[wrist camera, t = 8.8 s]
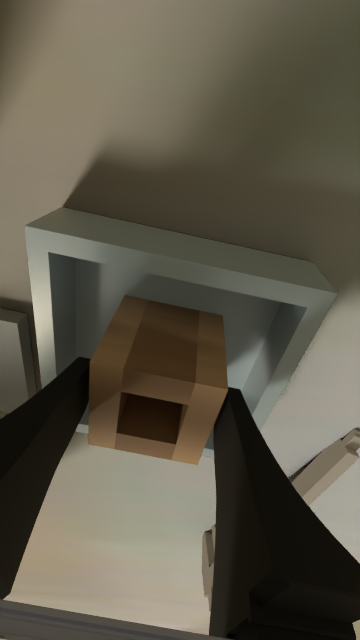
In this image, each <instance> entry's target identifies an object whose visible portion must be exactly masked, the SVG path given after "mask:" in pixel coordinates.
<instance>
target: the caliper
mask: <svg viewBox="0 0 360 640" xmlns="http://www.w3.org/2000/svg"><path fill="white" fill-rule="evenodd" d="M358 448H360V431H359V430H356V429H353V430H352V431H351V432H350V433H349V434H348V435H347V436H346V437H345V438H344V439H343V440H341V439H339V440H337V441H336V442H334V443H333V444H331V445H330V446H328V447H327V448H325V449H324V450H323V451H322V452H321V453H320V454H319V455H318V456H317V457H316V458H315V459H314V460H313V461H312V462H311V463H310V464H309V465H308V466H307V467H306V468H305V469H304V470H303V471H302V472H301V474H300V475H299V476H298V477H297V478H296V479H295V480H294V481H293V482H292V483H291V484H292V485H293V486H294V488H295V489H296V491H297V492H298V493H299V495H300V496H301V497H302V498H303V500H304V501H305V502H306V504H307V505H308V506H309V505H310V504H311V503H312V502H313V501H314V500H315V499H316V498H317V497H318V496H320V495H321V494H322V493H323V492H324V491H325V490H326V489H327V488H328V487H329V486H330V485H331V484H332V483H333V482H334V481H335V480H336V479H338V478H339V477H340V476H341V475H342V474H343V473H344V472H345V471H346V470H347V469H348V468H349V467H350V466H351V465H352V464H353V463H354V462H356V461H357V460H358V459H359V458H360V457H359V455H358V454H357V452H356V450H357V449H358ZM215 532H216V526H215V525H213V526H212V534H211V533H208V532H204V534H203V543H202V575H203V585H204V595H205V597H207V598H208V600H209V610H210V611H211V601H212V588H213V572H214V555H215Z"/></svg>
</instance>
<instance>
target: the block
mask: <svg viewBox="0 0 360 640" xmlns="http://www.w3.org/2000/svg"><path fill="white" fill-rule="evenodd" d="M227 392H228V379H227V365H226V352H225V338H224V324H223V315H218V314H214V313H209V312H204V311H199V310H195V309H190V308H185V307H180V306H176V305H171V304H166V303H161V302H157V301H152V300H147V299H142V298H138V297H133V296H128V295H124V297H123V299H122V301H121V303H120V305H119V307H118V309H117V311H116V313H115V314H114V316H113V318H112V320H111V322H110V324H109V326H108V328H107V330H106V332H105V334H104V336H103V337H102V339H101V341H100V343H99V345H98V347H97V349H96V351H95V353H94V355H93V357H92V358H91V360H90V374H89V420H88V444H91V445H96V446H101V447H106V448H112V449H117V450H122V451H127V452H132V453H138V454H143V455H148V456H153V457H158V458H164V459H169V460H174V461H179V462H184V463H190V464H195V465H197V464H198V462H199V460H200V457H201V455H202V452H203V450H204V447H205V445H206V443H207V440H208V438H209V435H210V433H211V430H212V428H213V426H214V423H215V421H216V418H217V416H218V413H219V411H220V409H221V406H222V404H223V401H224V399H225V397H226V394H227Z"/></svg>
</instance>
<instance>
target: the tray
mask: <svg viewBox="0 0 360 640" xmlns="http://www.w3.org/2000/svg"><path fill="white" fill-rule="evenodd" d="M24 228H25V237H26V246H27V255H28V264H29V274H30V283H31V292H32V301H33V310H34V320H35V329H36V338H37V347H38V356H39V366H40V375H41V384H42V389H43V388H44V387H45V386H46V385H47V384H49V383H50V382H51V381H52V380H53V379H55V378H56V377H57V376H58V375H59V374H60V373H61V372H62V371H64V370H65V369H66V368H67V367H68V366H69V365H70V364H71V363H72V362H73V361H74V360H75V359H76V358H78V357H84V358H89V359H91V358H92V357H93V355H94V353H95V351H96V349H97V347H98V345H99V343H100V341H101V339H102V337H103V336H104V334H105V332H106V330H107V328H108V326H109V324H110V322H111V320H112V318H113V316H114V314H115V313H116V311H117V309H118V307H119V305H120V303H121V301H122V299H123V297H124V295H128V296H133V297H138V298H142V299H147V300H152V301H157V302H161V303H166V304H171V305H176V306H180V307H185V308H190V309H195V310H199V311H204V312H209V313H214V314H218V315H223V324H224V338H225V352H226V365H227V379H228V387H232V388H237V389H240V390H241V392H242V394H243V397H244V399H245V401H246V404H247V406H248V408H249V410H250V412H251V415H252V417H253V419H254V421H255V423H256V425H257V427H258V429H259V431H260V430H261V428H262V427H263V425H264V423H265V421H266V420H267V418H268V416H269V414H270V413H271V411H272V409H273V407H274V406H275V404H276V402H277V400H278V399H279V397H280V395H281V393H282V392H283V390H284V388H285V386H286V385H287V383H288V381H289V379H290V378H291V376H292V374H293V372H294V370H295V369H296V367H297V365H298V363H299V362H300V360H301V358H302V356H303V355H304V353H305V351H306V349H307V348H308V346H309V344H310V342H311V341H312V339H313V337H314V335H315V334H316V332H317V330H318V328H319V327H320V325H321V323H322V321H323V319H324V318H325V316H326V314H327V312H328V311H329V309H330V307H331V305H332V304H333V302H334V300H335V298H336V297H337V295H338V293H337V292H336V291H335V289H334V288H333V287H332V286H331V284H330V283H329V282H328V281H327V279H326V278H325V277H324V276H323V274H322V273H321V272H320V271H319V269H318V268H317V267H316V266H315V264H314V263H313V262H309V261H305V260H300V259H296V258H291V257H287V256H282V255H278V254H273V253H268V252H264V251H259V250H255V249H250V248H246V247H241V246H237V245H232V244H228V243H223V242H219V241H214V240H209V239H205V238H200V237H196V236H191V235H187V234H182V233H178V232H173V231H169V230H164V229H159V228H155V227H150V226H146V225H141V224H137V223H132V222H128V221H123V220H119V219H114V218H109V217H105V216H100V215H96V214H91V213H87V212H82V211H78V210H73V209H69V208H64V207H61V208H59V209H57V210H55V211H53V212H51V213H49V214H47V215H45V216H43V217H41V218H39V219H37V220H35V221H33V222H31V223H29V224H27V225H25V226H24ZM88 420H89V402H88V404H87V407H86V410H85V412H84V414H83V416H82V418H81V420H80V422H79V424H78V426H77V428H76V430H75V432H80V433H86V434H88ZM213 431H214V426H213V428H212V430H211V433H210V435H209V438H208V440H207V443H206V445H205V447H204V450H203V452H202V455H201V456H204V457H209V458H214V445H213Z"/></svg>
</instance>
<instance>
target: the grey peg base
mask: <svg viewBox="0 0 360 640" xmlns="http://www.w3.org/2000/svg"><path fill="white" fill-rule="evenodd" d="M36 393H37V389H36V381H35V373H34V365H33V357H32V349H31V341H30V333H29V325H28V317H27V314H26V313H21V312H16V311H11V310H6V309H2V308H0V412H5V413H10V412H12V411H13V410H15V409H16V408H18V407H19V406H20V405H22V404H23V403H24V402H26V401H27V400H28V399H30V398H31V397H32V396H34V395H35V394H36Z"/></svg>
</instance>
